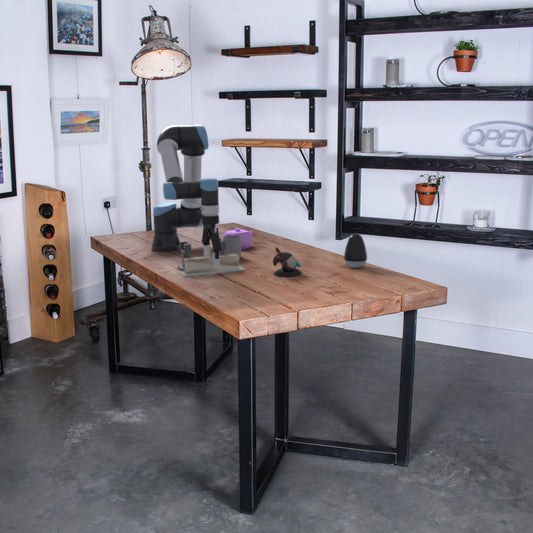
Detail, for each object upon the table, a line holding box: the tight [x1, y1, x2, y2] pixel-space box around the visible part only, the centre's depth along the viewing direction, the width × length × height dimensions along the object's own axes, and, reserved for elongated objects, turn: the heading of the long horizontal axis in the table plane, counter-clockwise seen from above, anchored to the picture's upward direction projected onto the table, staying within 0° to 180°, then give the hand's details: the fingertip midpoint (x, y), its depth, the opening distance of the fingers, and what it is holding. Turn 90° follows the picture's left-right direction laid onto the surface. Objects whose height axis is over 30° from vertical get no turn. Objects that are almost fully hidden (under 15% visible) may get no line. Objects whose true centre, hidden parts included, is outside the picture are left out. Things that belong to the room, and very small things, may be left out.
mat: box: [178, 265, 246, 278], centre depth 281 cm, size 8×28×1 cm, turn 113°
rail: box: [184, 254, 240, 274], centre depth 280 cm, size 4×24×6 cm, turn 113°
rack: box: [177, 237, 226, 271], centre depth 287 cm, size 8×22×12 cm, turn 113°
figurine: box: [272, 246, 302, 278], centre depth 274 cm, size 11×12×12 cm
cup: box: [222, 235, 242, 259], centre depth 308 cm, size 8×8×10 cm
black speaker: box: [343, 232, 368, 269], centre depth 284 cm, size 10×10×15 cm
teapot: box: [222, 227, 254, 250], centre depth 331 cm, size 18×10×10 cm, turn 124°
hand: (211, 262), depth 280 cm, fingers open, 13 cm apart
